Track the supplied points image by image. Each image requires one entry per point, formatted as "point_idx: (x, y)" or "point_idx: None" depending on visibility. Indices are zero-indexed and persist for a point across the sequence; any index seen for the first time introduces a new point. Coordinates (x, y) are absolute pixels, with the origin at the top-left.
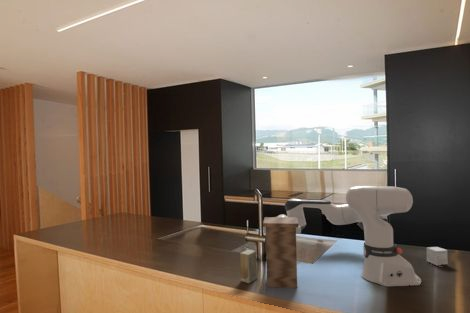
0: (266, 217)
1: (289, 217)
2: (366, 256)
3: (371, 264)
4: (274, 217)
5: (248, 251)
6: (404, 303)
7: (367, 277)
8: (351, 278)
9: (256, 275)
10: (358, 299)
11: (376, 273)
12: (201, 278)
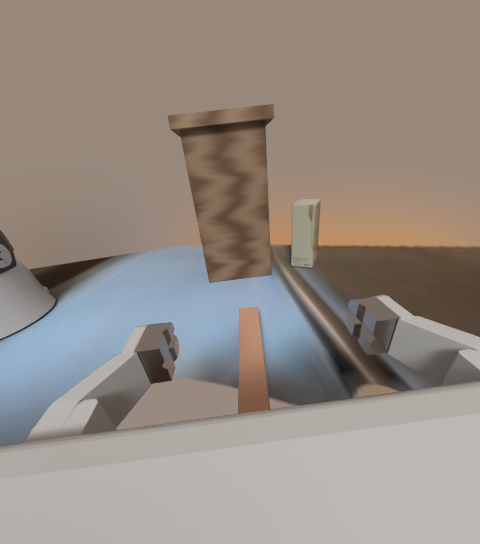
0: (266, 106)
1: (192, 113)
2: (14, 261)
3: (26, 270)
4: (241, 108)
5: (307, 201)
6: (78, 265)
7: (50, 297)
8: (81, 304)
9: (291, 258)
10: (132, 260)
11: (37, 280)
12: (399, 248)
